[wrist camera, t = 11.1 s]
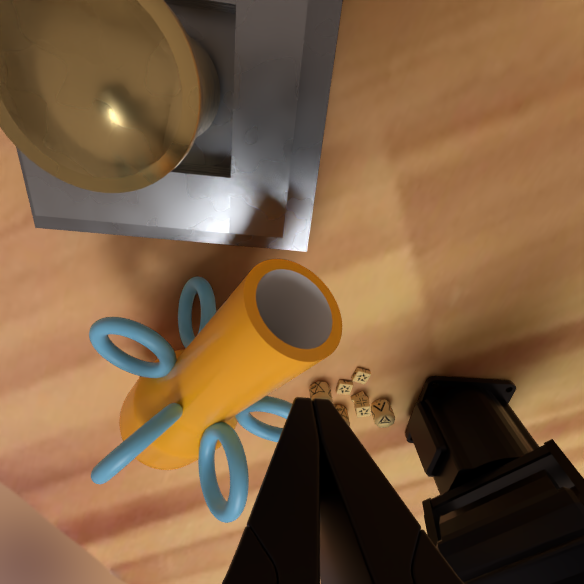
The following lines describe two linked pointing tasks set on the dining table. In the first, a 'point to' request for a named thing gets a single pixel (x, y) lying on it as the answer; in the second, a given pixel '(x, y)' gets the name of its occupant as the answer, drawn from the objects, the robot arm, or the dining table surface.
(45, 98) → the bushing
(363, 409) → the mottled tan cylinder cluster
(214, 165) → the plate
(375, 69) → the dining table surface
